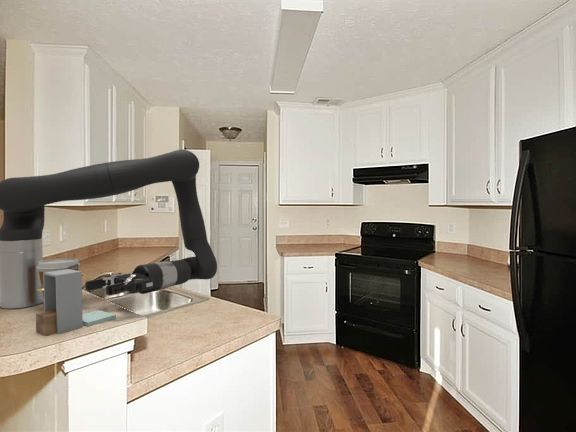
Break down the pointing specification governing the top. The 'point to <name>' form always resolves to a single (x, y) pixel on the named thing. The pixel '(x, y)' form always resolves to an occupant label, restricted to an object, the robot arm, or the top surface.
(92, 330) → the top surface
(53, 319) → the block
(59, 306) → the cover
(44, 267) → the disposable coffee cup
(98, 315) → the slab
